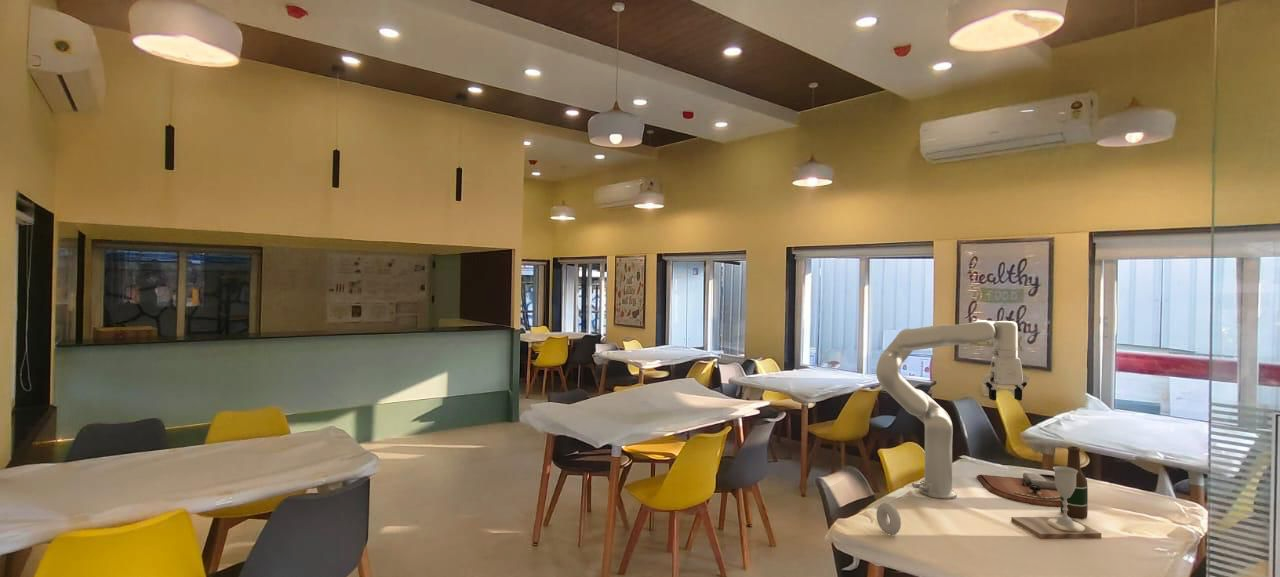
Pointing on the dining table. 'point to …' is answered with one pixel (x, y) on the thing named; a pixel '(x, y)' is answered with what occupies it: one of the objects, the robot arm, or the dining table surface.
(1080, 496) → the beer bottle
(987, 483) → the wooden control board
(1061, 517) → the chalice
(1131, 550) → the dining table surface
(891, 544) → the dining table surface
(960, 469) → the dining table surface
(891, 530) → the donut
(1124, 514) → the dining table surface
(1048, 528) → the walnut board
